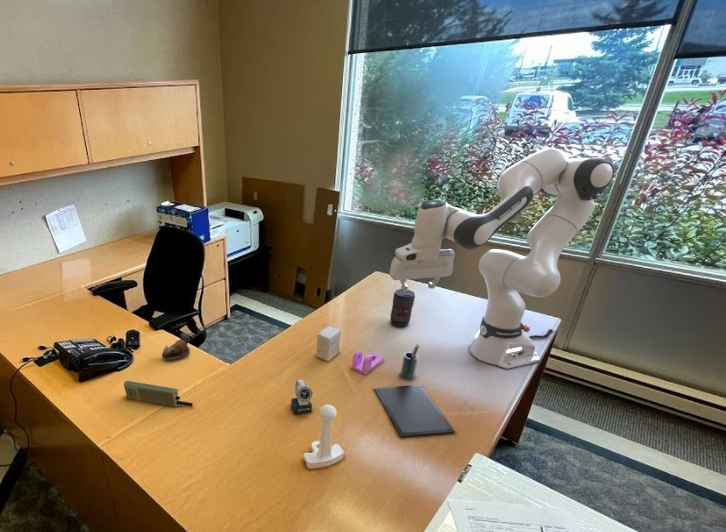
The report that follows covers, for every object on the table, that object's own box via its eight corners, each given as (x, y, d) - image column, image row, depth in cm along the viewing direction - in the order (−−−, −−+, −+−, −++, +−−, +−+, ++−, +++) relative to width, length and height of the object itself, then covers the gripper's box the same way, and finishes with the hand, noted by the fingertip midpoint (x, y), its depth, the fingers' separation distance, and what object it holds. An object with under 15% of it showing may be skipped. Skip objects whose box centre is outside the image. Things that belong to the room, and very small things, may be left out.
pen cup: (410, 372, 150) (414, 351, 145) (415, 379, 146) (420, 358, 141) (398, 373, 150) (402, 352, 145) (403, 380, 146) (407, 359, 141)
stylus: (407, 374, 148) (419, 347, 137) (403, 373, 148) (415, 346, 138) (408, 372, 149) (420, 344, 138) (404, 370, 149) (415, 343, 139)
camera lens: (412, 328, 175) (418, 296, 168) (393, 328, 175) (398, 297, 168) (405, 318, 182) (411, 287, 175) (386, 319, 182) (391, 288, 175)
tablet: (420, 386, 143) (420, 384, 142) (454, 433, 123) (454, 430, 123) (374, 390, 142) (374, 388, 142) (401, 437, 123) (401, 435, 123)
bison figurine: (163, 364, 163) (160, 343, 158) (161, 355, 169) (157, 334, 164) (193, 358, 166) (190, 337, 161) (189, 349, 172) (187, 328, 167)
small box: (327, 347, 166) (328, 325, 161) (339, 352, 163) (341, 330, 158) (315, 356, 162) (317, 333, 156) (328, 361, 158) (329, 338, 153)
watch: (296, 418, 133) (297, 392, 127) (289, 402, 140) (290, 376, 134) (313, 416, 133) (315, 389, 128) (305, 399, 140) (306, 374, 135)
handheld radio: (130, 393, 149) (194, 404, 142) (126, 399, 147) (191, 411, 139) (126, 378, 146) (192, 389, 138) (122, 384, 143) (188, 396, 136)
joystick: (310, 471, 115) (313, 417, 105) (297, 451, 121) (299, 399, 111) (345, 460, 117) (351, 406, 107) (331, 441, 124) (336, 389, 114)
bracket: (364, 375, 150) (366, 359, 146) (351, 368, 154) (353, 353, 150) (384, 360, 157) (387, 345, 153) (371, 354, 161) (373, 339, 157)
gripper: (451, 245, 139) (442, 282, 146) (390, 250, 139) (385, 287, 146) (461, 252, 133) (452, 290, 140) (398, 256, 133) (392, 295, 140)
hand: (417, 288), depth 143 cm, fingers open, 8 cm apart
